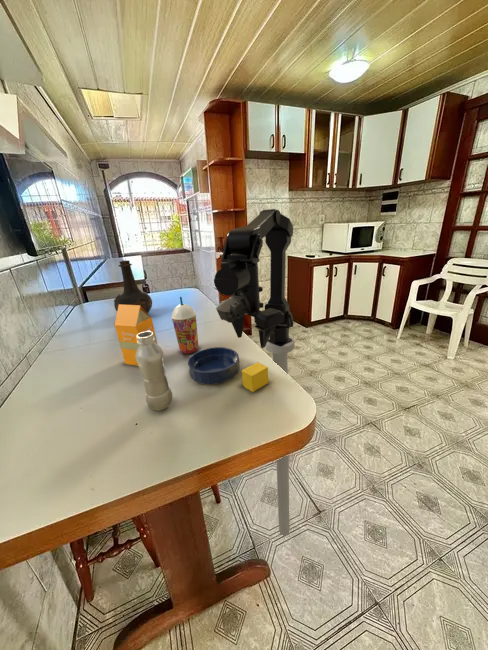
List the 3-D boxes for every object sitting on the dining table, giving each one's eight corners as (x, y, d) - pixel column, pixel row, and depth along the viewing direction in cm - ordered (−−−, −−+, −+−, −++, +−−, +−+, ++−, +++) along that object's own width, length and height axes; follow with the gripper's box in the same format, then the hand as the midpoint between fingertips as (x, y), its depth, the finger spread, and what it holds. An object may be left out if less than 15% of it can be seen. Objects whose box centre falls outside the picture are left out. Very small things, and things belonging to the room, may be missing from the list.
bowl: (220, 354, 92) (219, 342, 90) (250, 370, 81) (249, 357, 79) (181, 372, 83) (178, 359, 81) (208, 393, 72) (206, 379, 70)
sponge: (258, 377, 77) (257, 362, 75) (268, 382, 74) (267, 367, 72) (242, 386, 74) (241, 370, 72) (252, 392, 71) (251, 376, 69)
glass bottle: (121, 312, 144) (107, 260, 133) (155, 308, 147) (144, 256, 137) (114, 324, 128) (98, 265, 117) (153, 318, 131) (140, 261, 121)
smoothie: (173, 354, 95) (162, 300, 87) (186, 343, 102) (177, 293, 94) (193, 356, 91) (184, 301, 84) (205, 346, 99) (197, 293, 91)
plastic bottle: (150, 417, 64) (131, 343, 57) (146, 402, 70) (128, 333, 62) (177, 408, 67) (162, 336, 59) (170, 394, 73) (156, 326, 65)
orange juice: (140, 353, 97) (127, 300, 89) (160, 355, 94) (148, 301, 86) (124, 364, 90) (109, 308, 83) (146, 367, 87) (131, 309, 80)
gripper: (198, 285, 66) (206, 342, 72) (247, 298, 53) (251, 366, 59) (233, 277, 73) (237, 329, 79) (284, 286, 59) (285, 349, 65)
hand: (250, 342), depth 70 cm, fingers open, 9 cm apart
